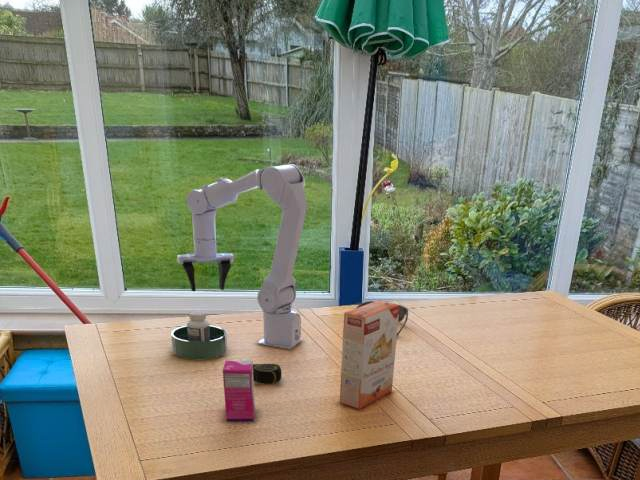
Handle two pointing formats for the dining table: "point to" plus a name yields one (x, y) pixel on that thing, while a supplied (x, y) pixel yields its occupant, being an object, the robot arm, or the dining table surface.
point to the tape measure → (266, 373)
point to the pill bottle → (198, 326)
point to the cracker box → (368, 353)
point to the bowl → (199, 344)
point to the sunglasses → (402, 313)
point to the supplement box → (239, 390)
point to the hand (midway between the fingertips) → (207, 289)
